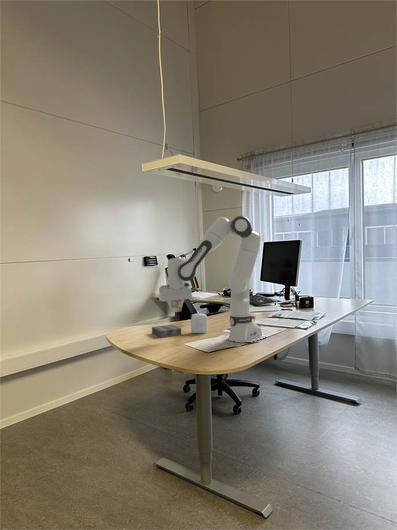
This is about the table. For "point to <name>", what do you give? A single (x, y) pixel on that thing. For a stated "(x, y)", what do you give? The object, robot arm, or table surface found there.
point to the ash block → (176, 306)
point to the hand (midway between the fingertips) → (176, 307)
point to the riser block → (166, 331)
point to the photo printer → (199, 323)
